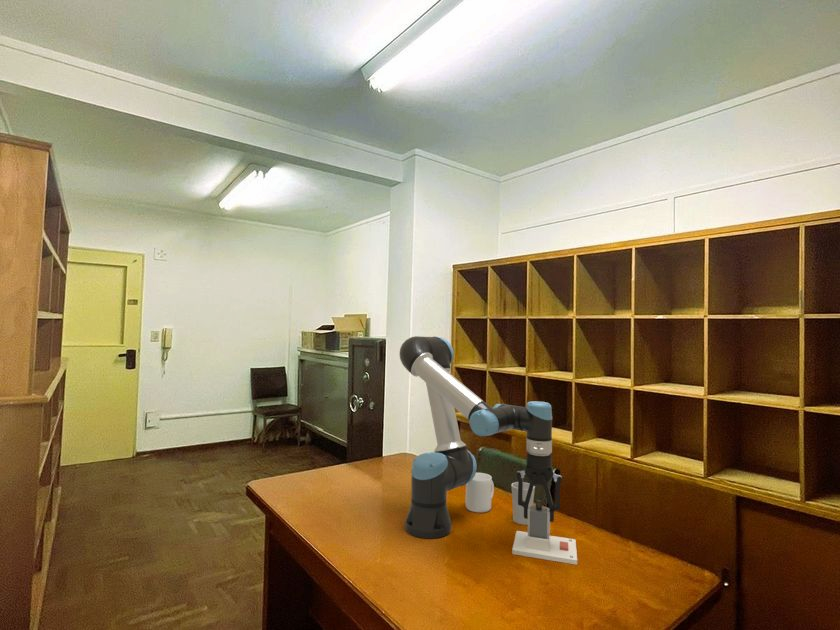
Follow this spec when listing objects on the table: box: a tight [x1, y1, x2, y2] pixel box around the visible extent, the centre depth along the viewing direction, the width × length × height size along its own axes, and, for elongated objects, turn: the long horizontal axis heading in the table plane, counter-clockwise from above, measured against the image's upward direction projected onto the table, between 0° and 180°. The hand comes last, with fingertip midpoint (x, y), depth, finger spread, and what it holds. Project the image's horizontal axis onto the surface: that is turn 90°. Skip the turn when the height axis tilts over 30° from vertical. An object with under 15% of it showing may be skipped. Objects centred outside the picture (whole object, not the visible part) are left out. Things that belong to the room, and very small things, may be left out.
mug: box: [465, 472, 495, 514], centre depth 167 cm, size 10×12×12 cm
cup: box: [510, 481, 536, 526], centre depth 156 cm, size 8×8×12 cm
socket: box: [511, 530, 578, 566], centre depth 135 cm, size 18×14×4 cm
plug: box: [530, 499, 549, 539], centre depth 136 cm, size 5×5×12 cm
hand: (538, 530), depth 136 cm, fingers closed on plug, 5 cm apart
